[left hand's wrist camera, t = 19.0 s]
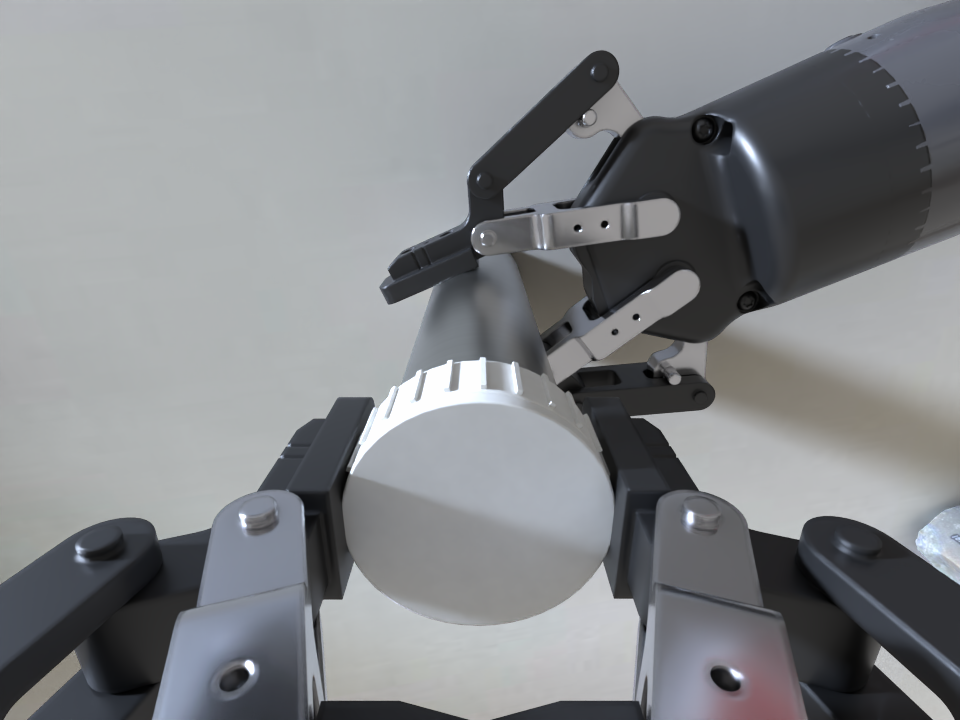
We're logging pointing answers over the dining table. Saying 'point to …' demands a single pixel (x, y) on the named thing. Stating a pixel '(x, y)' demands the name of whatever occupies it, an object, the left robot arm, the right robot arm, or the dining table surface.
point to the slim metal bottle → (480, 321)
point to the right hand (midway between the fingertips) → (416, 343)
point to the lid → (478, 495)
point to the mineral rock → (942, 542)
